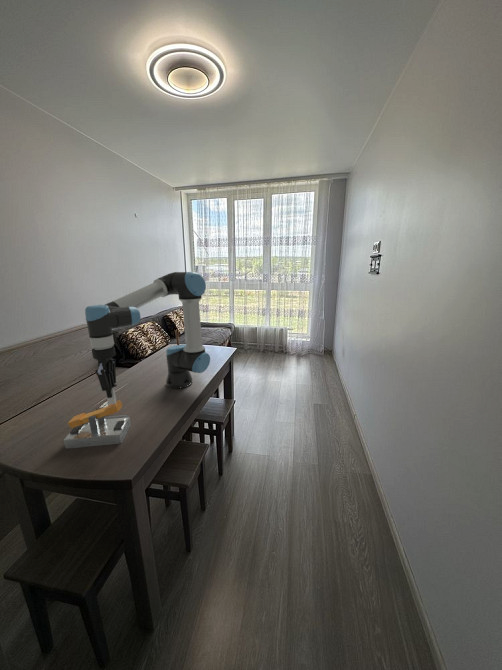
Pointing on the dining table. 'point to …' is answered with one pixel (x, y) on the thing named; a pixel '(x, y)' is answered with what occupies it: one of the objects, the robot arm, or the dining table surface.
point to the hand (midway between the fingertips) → (112, 403)
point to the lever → (95, 414)
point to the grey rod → (115, 417)
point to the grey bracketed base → (98, 432)
